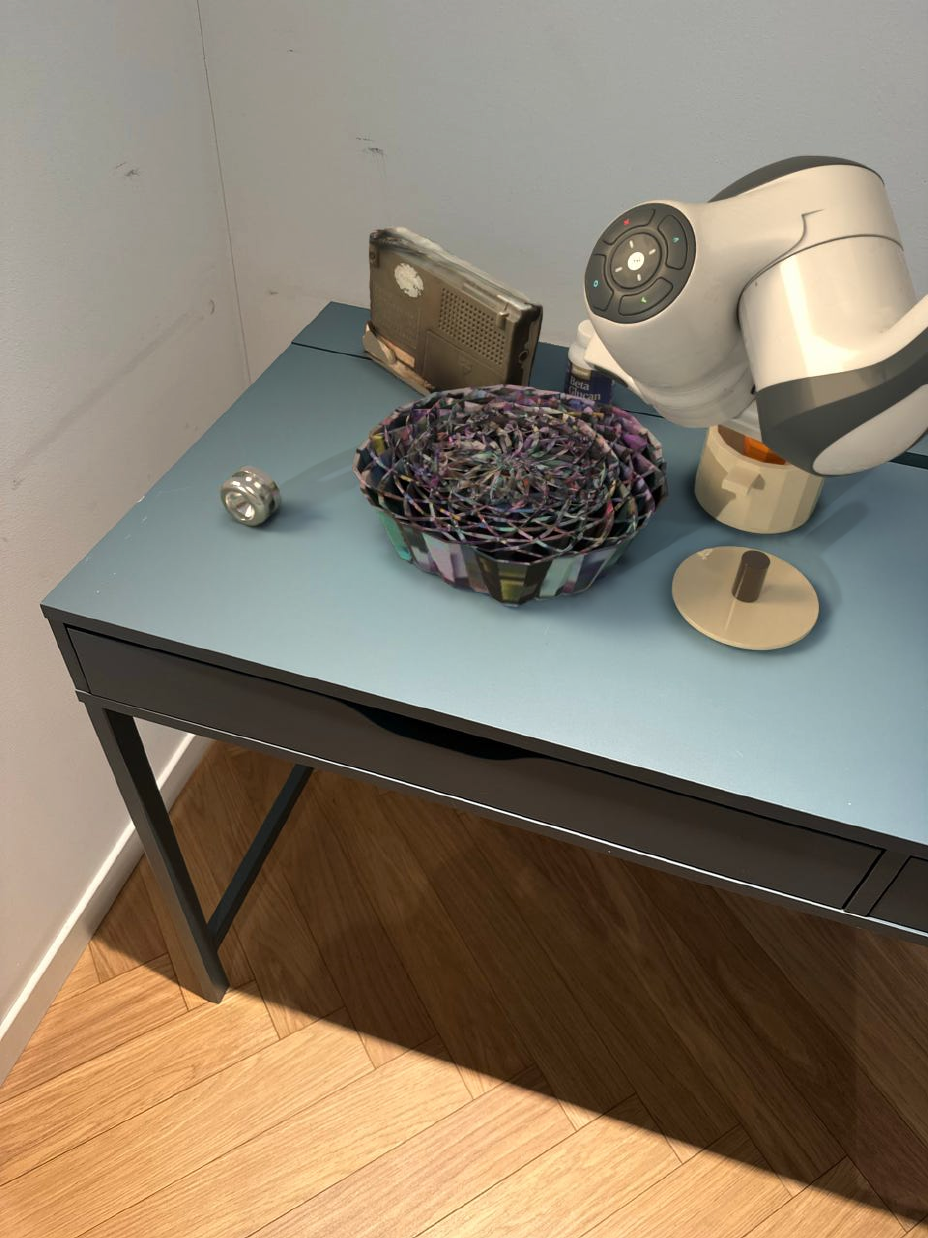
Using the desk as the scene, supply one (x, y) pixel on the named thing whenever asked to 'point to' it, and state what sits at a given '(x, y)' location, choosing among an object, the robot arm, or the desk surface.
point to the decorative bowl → (512, 488)
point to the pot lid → (745, 598)
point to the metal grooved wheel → (250, 495)
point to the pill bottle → (586, 371)
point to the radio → (445, 318)
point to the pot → (752, 487)
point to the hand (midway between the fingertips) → (737, 421)
